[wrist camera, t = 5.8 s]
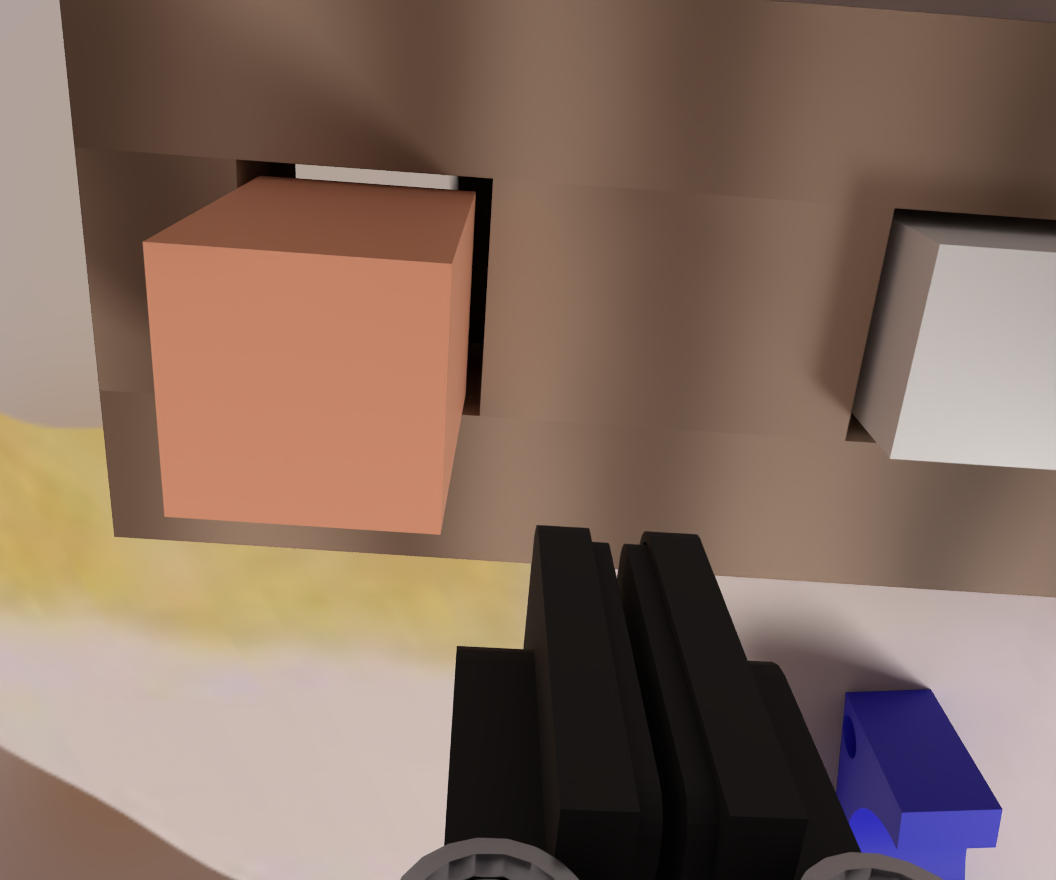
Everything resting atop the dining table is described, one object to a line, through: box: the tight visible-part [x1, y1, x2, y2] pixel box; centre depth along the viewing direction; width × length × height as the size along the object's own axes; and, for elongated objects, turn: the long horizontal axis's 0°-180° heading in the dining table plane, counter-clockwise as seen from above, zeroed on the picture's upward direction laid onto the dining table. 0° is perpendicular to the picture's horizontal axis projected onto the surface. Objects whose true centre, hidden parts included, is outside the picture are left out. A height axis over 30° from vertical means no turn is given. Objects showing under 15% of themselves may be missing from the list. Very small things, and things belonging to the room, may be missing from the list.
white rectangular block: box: [851, 208, 1056, 470], centre depth 26 cm, size 5×5×8 cm
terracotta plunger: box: [143, 176, 476, 535], centre depth 20 cm, size 5×5×8 cm
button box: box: [60, 0, 1056, 597], centre depth 26 cm, size 28×14×6 cm, turn 86°
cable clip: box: [836, 689, 1002, 880], centre depth 35 cm, size 12×4×6 cm, turn 3°
